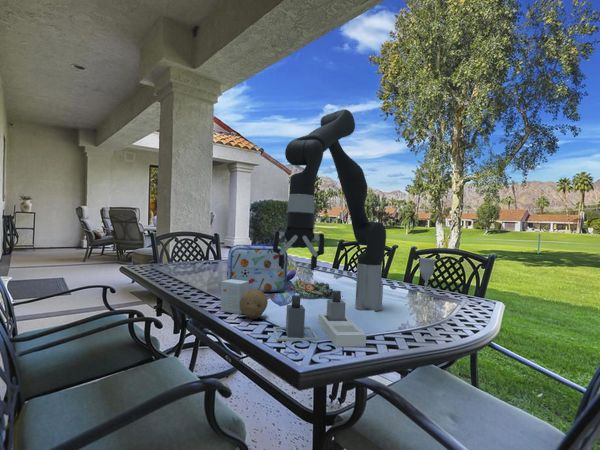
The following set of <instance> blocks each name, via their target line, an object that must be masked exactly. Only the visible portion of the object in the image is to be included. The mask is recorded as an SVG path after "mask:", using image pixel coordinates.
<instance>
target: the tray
mask: <svg viewBox="0 0 600 450" xmlns="http://www.w3.org/2000/svg"><path fill="white" fill-rule="evenodd" d="M277 330H286V326H273V332H274V336H275V339H276V342H291V341H292V342H296V341H297V342H299V341H300V342H301V341H304V342H305V341H306V342H307V341H319V337H318V336H317V335H316V333H315V331H314V329H312V326H304V330H309V331H310V333H311V335H312V337H279V336H278V332H277Z"/></svg>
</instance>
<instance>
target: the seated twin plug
mask: <svg viewBox="0 0 600 450" xmlns="http://www.w3.org/2000/svg"><path fill="white" fill-rule="evenodd" d="M341 294H342V291H340V290H333V297H332V299H331V300H330V299H326V300H327V301H326V313H327V318H326V319H327V320H328V321H345V315H346V307H347V306H346V302H345V301H344V300H343V299H341V296H342V295H341Z"/></svg>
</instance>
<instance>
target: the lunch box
mask: <svg viewBox="0 0 600 450" xmlns="http://www.w3.org/2000/svg"><path fill="white" fill-rule="evenodd" d="M273 243H274V242H272V243H269V244H267V243H266V244H235V245H232V246H231V247H230V248H229V250H228V254H227V266H226V280H229V279H234V280H242V281H249V290H251V289H257V290H260V291H262V292H263V293H274V292H276V293H277V292H281V291H283V290H284V289H285V288H286V284H287V278H288V277H287V276H288V261H289V260H288V255H289V254H288V252H287V251H286V252H285V253H284V269H281V267H279V264H278V263H279V254H277V253H275V252H273ZM281 248H282V247H280V246H279V245H278V249H280V250H281Z"/></svg>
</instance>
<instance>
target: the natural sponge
mask: <svg viewBox="0 0 600 450" xmlns="http://www.w3.org/2000/svg"><path fill="white" fill-rule="evenodd" d="M268 302H269V300H268V297H267V295H266V294H265V292H262V291H260V290H257V289H251V290H249V291H247V292H246V293H245V294H244V295H243V296H242V297H241V300H240V310H241V312H242V313H241V314H243V315H244V316H246V317H247V318H248V319H249V320H257V319H259V318H260V317H261V316H262V315H263V314H264V312H265V311H266V309H267V307H268Z"/></svg>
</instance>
